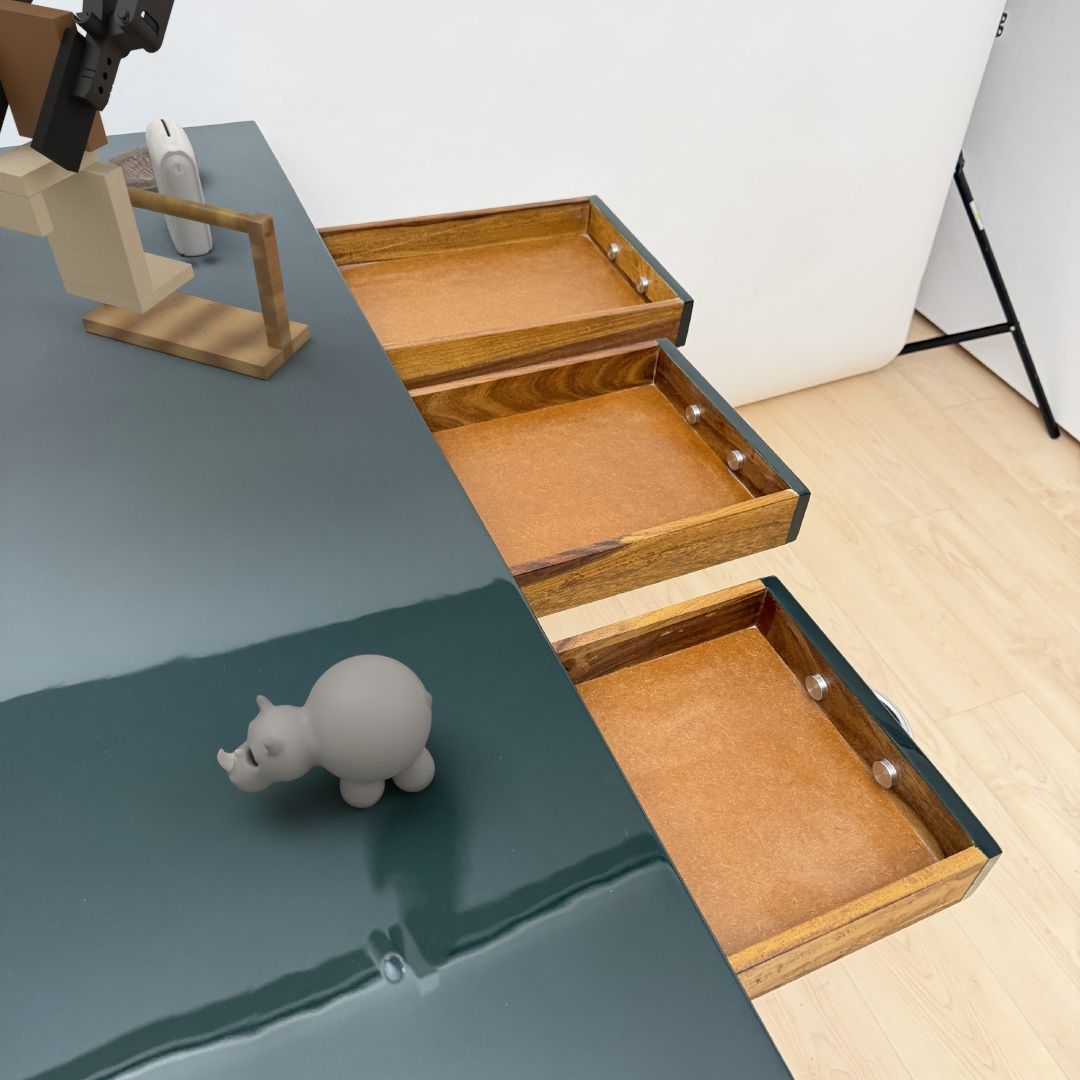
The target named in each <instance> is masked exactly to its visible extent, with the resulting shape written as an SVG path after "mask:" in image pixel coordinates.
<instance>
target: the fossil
mask: <svg viewBox="0 0 1080 1080" xmlns="http://www.w3.org/2000/svg"><path fill="white" fill-rule="evenodd" d="M194 155H195V158H196V163H197V164H198V159H197V156H196V153H195V152H194ZM108 164H112V165H116V166H121V168H122V172H123V175H124V179H125V183H126V186H129V187H133V188H137V189H142V190H146V191H151V192H155V193H159V191H158V187H157V183H156V179H155V175H154V171H153V167H152V163H151V158H150V154H149V150H148V147H147V145H146V146H143V147H135V148H134V149H131V150H129V151H127V152H124V153H121V154H118V155H116V156H114V157H112V158H110V159H108Z"/></svg>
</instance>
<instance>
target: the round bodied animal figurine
mask: <svg viewBox="0 0 1080 1080" xmlns="http://www.w3.org/2000/svg"><path fill="white" fill-rule="evenodd" d="M255 701H256V704H257V706H258V708H259V710H260V711H259V713H258V714H257V715H256V716H255V718H254V719H252V720H251V721H250V722H249V724H248V728H247V735H246V740H245V741H244V742H243V743H242V744H241V745H239V746H238V747H237V748H236V749H235V750H234V751H232V752H230V753H229V752H226V751H224V749H223V748H220V749H219V751H218V752H217V755H216V756H217V757H216V759H217V762H218V764H219V765H220V766H221V768H223V769H224V770H225V771H226V773H227V775H228V779H229V781H230V782H231V783H232V784H233V785H234V786H235V787H236V788H237V789H239V790H241V791H242V792H245V793H256V792H261V791H263V790H266V789H267V788H268V787H270V786H271V785H272V784H274V783H277V782H292V781H294V780H297V779H300V778H301V777H303V776H304V775H306V774H307V773H308V772H309V771H310V770H311V769H312V768H314V767H321V768H324V769H325V770H327V771H328V772H330V774H332V775H334V776H335V777H337V778H339V790H340V794H341V797H342V799H343V800H344V801H345V803H347V804H348V805H350V806H352V807H354V808H359V809H366V808H369V807H372V806H374V805H375V804H376V803H377V802H378V801H379V800H380V799H381V798H382V796H383V795H384V792H385V788H386V781H385V780H389V779H392V781H393V782H394V784H395V785H396V786H397V788H399V790H402V791H404V792H408V793H418V792H421V791H423V790H424V789H426V788H427V787H428V786H429V785H430V783H432V781H433V779H434V776H435V772H436V766H435V762H434V758H433V756H432V755H431V753H430V751H429V750H428V749H427V747H426V745H427V743H428V739H429V735H430V732H431V728H432V720H433V719H432V716H433V715H432V705H433V697H432V694H431V693H430V692H429V691H427V690H426V688H425V686H424V684H423V682H422V681H421V679H420V678H419V677H418V675H417V674H416V673H415V672H414V671H413V670H412V669H410V667H408V666H407V665H405V664H404V663H402V662H400V661H399V660H397V659H395V658H392V657H390V656H385V655H381V654H371V653H370V654H359V655H355V656H350V657H348V658H345V659H342V660H341V661H339V662H336V663H335V664H334V665H332V666H331V667H329V668H328V669H327V670H326V671H324V673H322V674H321V675H320V677H319V678H318V679H317V680H316V681H315V683H314V684H313V686H312V688H311V690H310V692H309V694H308V697H307V699H306V701H305V703H304V705H302V706H295V705H292V704H291V705H290V704H279V705H274V704H273V703H272V702H271V700H270V699H269V698H267V697H266V696H264V695H261V694H257V696H256V699H255Z"/></svg>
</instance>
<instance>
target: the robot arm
mask: <svg viewBox="0 0 1080 1080" xmlns="http://www.w3.org/2000/svg"><path fill="white" fill-rule="evenodd" d="M14 1H19V2H24V3H29V4H33V1H34V0H14ZM174 4H175V0H82V5H81V6H82V9H81V11H80V12H79V11H78V12H75V13H74V12H73V13H71V16H72V19H73V21H74V22H75V23H76V25H77V26H79V27H80V28H81V29H82V30H83V31H84V32H85V33H86V34H85V35H83V34H82V33H81V32H80V31H79V30H78V29H77V30H78V31H77V30H74V29H69V28H65V31H64V35H63V38H62V41H61V45H60V47H59V50H58V53H57V57H56V60H55V64H54V67H53V70H52V74H51V77H50V81H49V84H48V87H47V91H46V94H45V98H44V101H43V104H42V108H41V111H40V115H39V118H38V121H37V125H36V128H35V132H34V135H33V138H32V139H31V141H32V142H31V145H30V147H31V148H33V149H34V150H36V151H37V152H39V153H40V154H42V155H44V156H45V157H47V158H48V159H50V160H51V161H53V162H55V163H56V164H58V165H59V166H61V167H62V168H64V169H66V170H67V171H72V172H76V173H78V172H79V169H80V165H81V162H82V158H83V155H84V152H85V148H86V145H87V141H88V138H89V135H90V131H91V128H92V124H93V121H94V118H95V114H96V111H100V112H104V110H105V109H106V107H107V105H108V104H109V101H110V97H111V93H112V91H113V86H114V85H115V81H116V77H117V74H118V70H119V67H120V64H121V60H122V59H125V58H126V57H128V56H129V55H130V53H131V52H132V51H137V50H144V51H145V52H146V53H148V54H154V53H156V52H158V51H159V50H160V49H161V48H162V46H163V43H164V40H165V36H166V31H167V29H168V25H169V21H170V18H171V15H172V11H173V8H174ZM143 13H144V14H143ZM142 14H143V16H142ZM9 107H10V106H9V104H8V101H7V98H6V95H5V92H4V89H3V86H2V83H1V80H0V134H2V133H1V132H2V129H3V127H4V122H5V119H6V116H7V112H8V109H9Z"/></svg>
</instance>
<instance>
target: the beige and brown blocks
mask: <svg viewBox="0 0 1080 1080" xmlns="http://www.w3.org/2000/svg"><path fill="white" fill-rule="evenodd" d="M71 13H74V12H73V11H70V10H66V9H60V8H54V7H49V6H45V5H39V4H34V3H31V4H29V3H24V2H19V1H14V0H0V80H1V83H2V86H3V89H4V92H5V95H6V98H7V101H8V104H9V106H8V107H9V109H10V112H11V115H12V118H13V121H14V124H15V128H16V131H17V133H18V136H19V137H23V138H28V139H31V140H30V141H28V142H26V143H23V144H21V145H19V146H16V147H14V148H12V149H10V150H8V151H6V152H4V153H1V154H0V228H4V229H7V230H10V231H15V232H19V233H23V234H26V235H30V236H34V237H39V238H44V237H47V240H48V243H49V246H50V249H51V251H52V254H53V257H54V261H55V263H56V266H57V269H58V273H59V275H60V278H61V280H62V283H63V286H64V290H65V292H66V294H68V295H72V296H75V297H79V298H83V299H87V300H89V301H94V302H98V303H101V304H102V303H105V304H108V305H112V306H116V307H119V308H123V309H127V310H130V311H134V312H138V313H142V314H143V313H145V312H146V311H148V310H149V309H150V308H152V307H153V306H155V305H156V304H157V303H159V302H160V301H162V300H163V299H164V298H166V297H167V296H169V295H170V294H171V293H173V292H174V291H177V290H179V289H180V288H181V287H182V286H184V285H186V284H187V283H188V282H190V281H191V280H193V278H195V273H194V269H193V265H192V264H191V263H190V262H189V263H188V262H185V261H181V260H177V259H173V258H169V257H165V256H161V255H157V254H153V253H150V252H145V251H144V248H143V244H142V239H141V236H140V231H139V229H138V225H137V221H136V217H135V214H134V209H133V207H132V206H131V202H130V198H129V194H128V190H127V187H126V183H125V179H124V175H123V172H122V168H121V166H116V165H112V164H109V162H103V161H100V157H99V153H98V150H99V149H101V148H102V147H104V146H106V145H108V144H109V142H108V137H107V133H106V130H105V126H104V122H103V119H102V116H101V115H102V114H101V111H96V114H95V118H94V121H93V124H92V128H91V131H90V135H89V138H88V141H87V145H86V148H85V152H84V155H83V158H82V162H81V165H80V169H79V172H78V173H76V172H72V171H67V170H66V169H64V168H62V167H61V166H59V165H58V164H56V163H55V162H53V161H51V160H50V159H48V158H47V157H45V156H44V155H42V154H40V153H39V152H37V151H36V150H34V149H33V148H31V147H30V145H31V142H32V138H33V135H34V132H35V128H36V125H37V121H38V118H39V115H40V111H41V108H42V104H43V101H44V98H45V94H46V91H47V87H48V84H49V81H50V77H51V74H52V70H53V67H54V64H55V60H56V57H57V53H58V50H59V47H60V45H61V41H62V38H63V35H64V31H65V28H69V29H74V30H77V31H78V32H79V29H78V25H77V23H75V22H74V21H73V19H72V16H71Z"/></svg>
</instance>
